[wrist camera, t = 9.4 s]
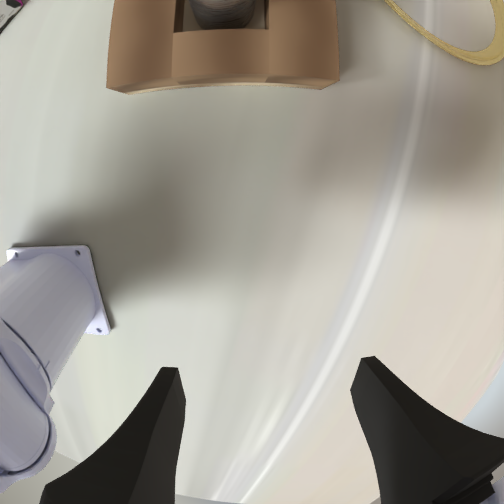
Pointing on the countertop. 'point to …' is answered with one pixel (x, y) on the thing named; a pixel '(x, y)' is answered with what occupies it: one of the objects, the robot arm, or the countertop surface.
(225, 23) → the pin
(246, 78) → the socket block
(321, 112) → the countertop surface
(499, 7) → the yellow rubber band
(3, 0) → the candy bar box
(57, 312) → the robot arm
